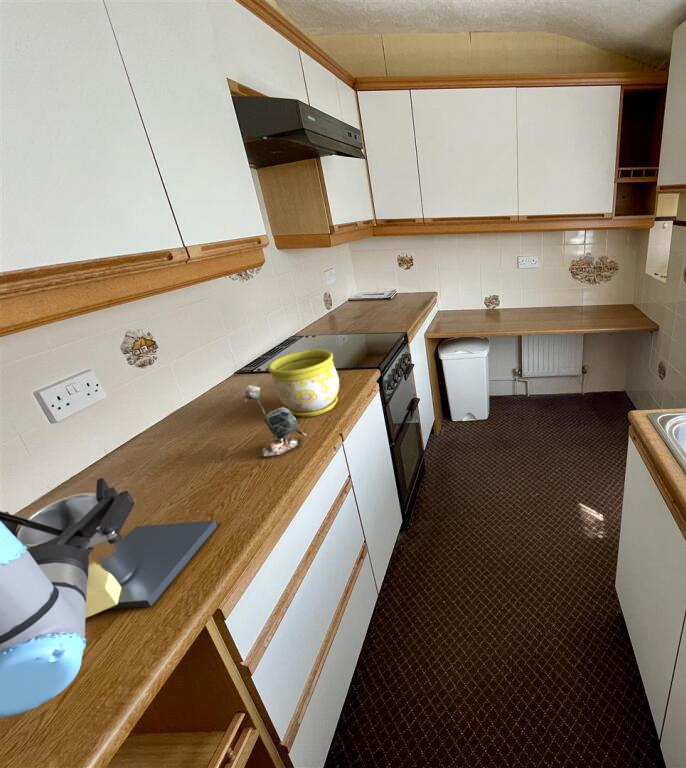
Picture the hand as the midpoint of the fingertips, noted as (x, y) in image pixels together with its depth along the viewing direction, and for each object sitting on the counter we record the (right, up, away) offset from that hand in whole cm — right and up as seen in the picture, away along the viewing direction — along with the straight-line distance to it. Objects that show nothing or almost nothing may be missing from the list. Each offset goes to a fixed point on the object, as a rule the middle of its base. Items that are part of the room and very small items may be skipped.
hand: (58, 501), depth 65 cm
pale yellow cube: (+5, -17, +2) cm, 18 cm away
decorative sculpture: (+11, +1, +45) cm, 46 cm away
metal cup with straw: (+2, -15, +6) cm, 17 cm away
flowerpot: (+9, +11, +65) cm, 67 cm away
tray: (+4, -15, +11) cm, 19 cm away
